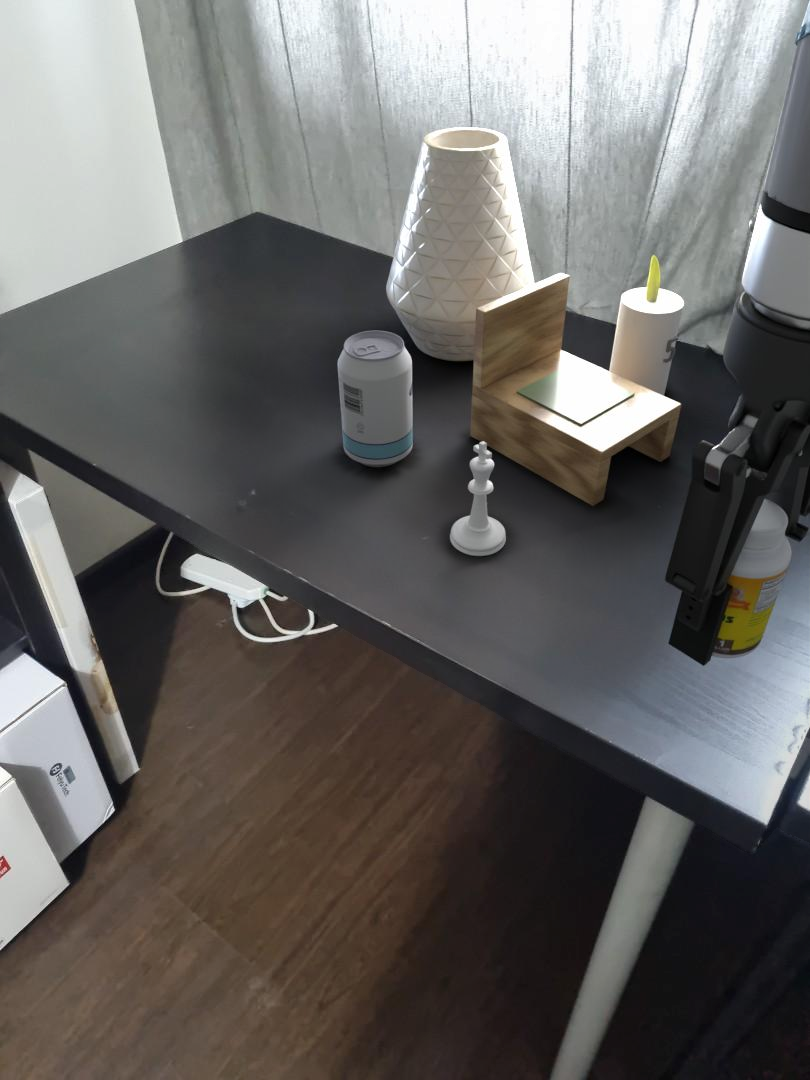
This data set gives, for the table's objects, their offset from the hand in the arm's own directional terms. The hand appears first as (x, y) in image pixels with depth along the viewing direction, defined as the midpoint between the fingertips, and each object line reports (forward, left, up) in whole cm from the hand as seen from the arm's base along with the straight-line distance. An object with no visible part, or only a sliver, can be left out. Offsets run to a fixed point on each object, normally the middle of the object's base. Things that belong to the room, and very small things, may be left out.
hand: (715, 628), depth 56 cm
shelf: (+26, -17, -6) cm, 32 cm away
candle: (+28, -31, -6) cm, 43 cm away
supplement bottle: (0, 0, -1) cm, 1 cm away
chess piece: (+22, 0, -6) cm, 23 cm away
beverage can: (+38, -2, -6) cm, 39 cm away
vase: (+50, -25, -6) cm, 57 cm away
